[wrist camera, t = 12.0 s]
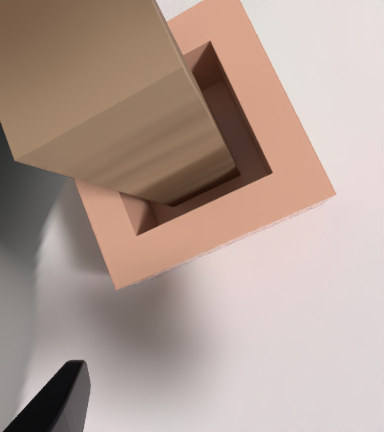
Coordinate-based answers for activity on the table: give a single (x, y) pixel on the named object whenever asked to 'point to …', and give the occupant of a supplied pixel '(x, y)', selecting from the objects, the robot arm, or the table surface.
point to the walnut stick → (107, 99)
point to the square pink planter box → (239, 148)
